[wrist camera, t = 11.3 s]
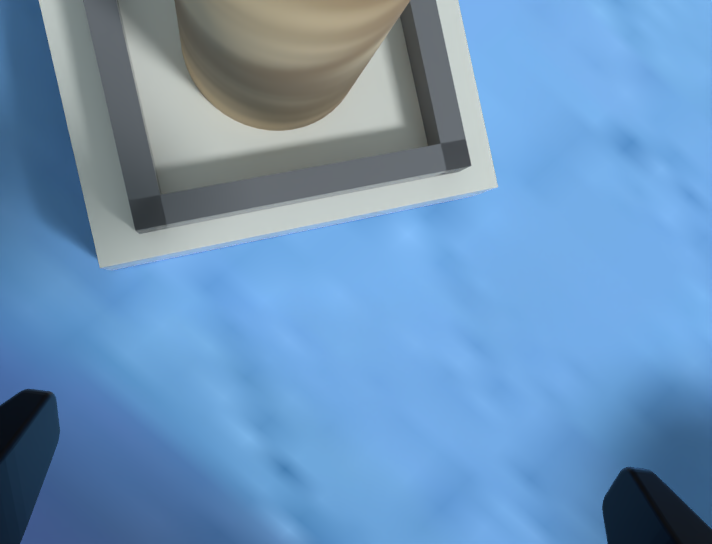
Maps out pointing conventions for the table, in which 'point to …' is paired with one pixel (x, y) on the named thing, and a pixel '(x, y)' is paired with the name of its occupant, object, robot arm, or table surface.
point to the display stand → (256, 135)
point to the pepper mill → (280, 54)
